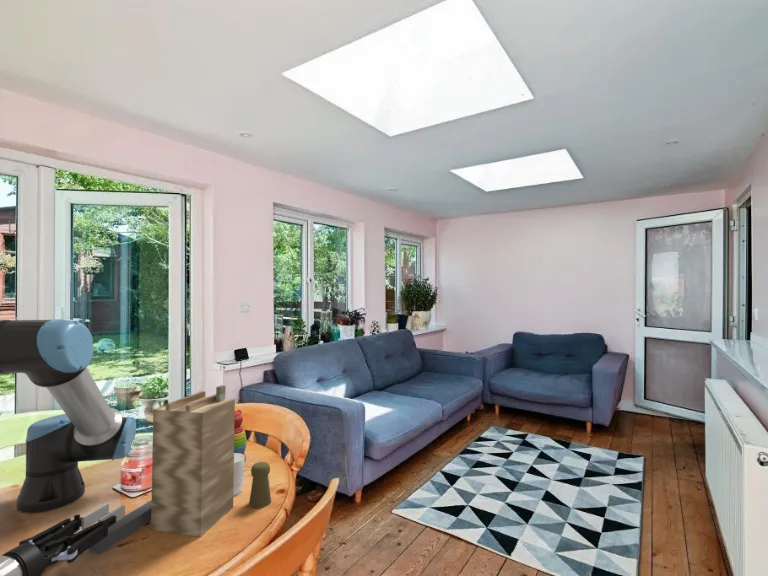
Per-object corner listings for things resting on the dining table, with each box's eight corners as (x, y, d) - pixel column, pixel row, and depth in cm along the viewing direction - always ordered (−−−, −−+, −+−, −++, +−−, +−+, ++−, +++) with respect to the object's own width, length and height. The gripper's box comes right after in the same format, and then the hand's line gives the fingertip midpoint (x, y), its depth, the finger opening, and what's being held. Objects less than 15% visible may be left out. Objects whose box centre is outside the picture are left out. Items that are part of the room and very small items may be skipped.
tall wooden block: (151, 529, 101) (153, 393, 102) (188, 501, 115) (190, 381, 115) (200, 536, 98) (203, 396, 99) (233, 507, 112) (235, 384, 113)
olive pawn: (259, 510, 110) (259, 469, 111) (244, 504, 114) (244, 464, 114) (275, 500, 116) (276, 462, 116) (261, 495, 119) (261, 457, 119)
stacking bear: (236, 453, 150) (237, 405, 151) (253, 459, 144) (254, 409, 145) (209, 462, 141) (210, 411, 142) (226, 470, 135) (227, 417, 136)
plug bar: (88, 552, 93) (89, 537, 93) (169, 501, 116) (170, 488, 116) (100, 555, 92) (101, 539, 92) (179, 502, 115) (180, 490, 115)
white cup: (234, 499, 116) (235, 464, 116) (210, 496, 118) (210, 462, 118) (249, 486, 124) (249, 454, 124) (225, 484, 126) (226, 451, 126)
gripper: (-28, 588, 76) (86, 521, 99) (44, 602, 73) (145, 529, 96) (-27, 548, 76) (86, 490, 99) (45, 560, 73) (146, 497, 96)
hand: (115, 509), depth 98 cm, fingers open, 4 cm apart
